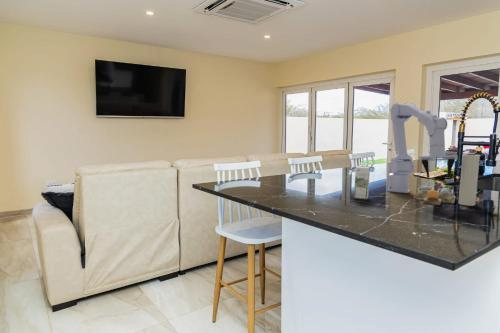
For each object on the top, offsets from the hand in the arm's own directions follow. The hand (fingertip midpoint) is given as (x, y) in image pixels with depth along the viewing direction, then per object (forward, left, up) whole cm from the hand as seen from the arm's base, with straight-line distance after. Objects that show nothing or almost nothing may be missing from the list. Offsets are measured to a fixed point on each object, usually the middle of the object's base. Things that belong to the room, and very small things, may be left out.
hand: (438, 177), depth 147 cm
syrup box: (-29, -10, -11) cm, 33 cm away
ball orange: (-1, -2, -7) cm, 8 cm away
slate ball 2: (+3, +7, -8) cm, 11 cm away
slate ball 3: (+3, +12, -8) cm, 15 cm away
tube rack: (-1, +9, -11) cm, 15 cm away
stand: (-1, -2, -11) cm, 11 cm away
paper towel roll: (+11, +4, -11) cm, 16 cm away
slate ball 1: (-5, +12, -8) cm, 15 cm away
